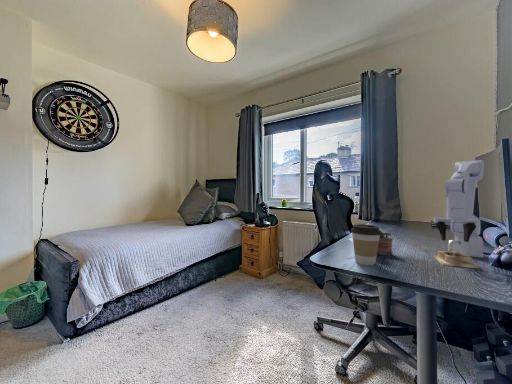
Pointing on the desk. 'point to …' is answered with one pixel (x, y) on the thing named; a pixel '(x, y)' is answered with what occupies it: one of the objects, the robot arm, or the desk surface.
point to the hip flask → (385, 244)
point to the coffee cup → (365, 243)
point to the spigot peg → (454, 248)
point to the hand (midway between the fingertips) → (454, 240)
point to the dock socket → (455, 260)
